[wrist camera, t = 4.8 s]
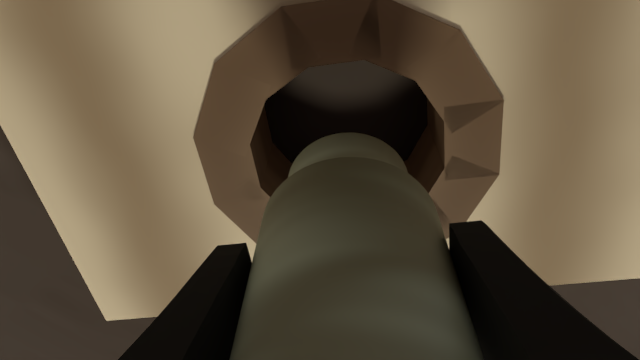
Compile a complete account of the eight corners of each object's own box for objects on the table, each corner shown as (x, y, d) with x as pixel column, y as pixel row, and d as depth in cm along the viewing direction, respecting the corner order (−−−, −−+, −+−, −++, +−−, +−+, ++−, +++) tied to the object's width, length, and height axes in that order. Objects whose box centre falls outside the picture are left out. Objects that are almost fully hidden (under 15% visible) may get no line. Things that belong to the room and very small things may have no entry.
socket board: (696, -141, 12) (794, -151, 10) (615, 223, 18) (662, 278, 16) (1, -26, 14) (-76, -9, 12) (135, 267, 20) (105, 322, 18)
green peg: (422, 107, 11) (559, 447, 4) (426, 240, 13) (524, 613, 6) (257, 127, 11) (140, 466, 5) (287, 252, 14) (235, 617, 7)
